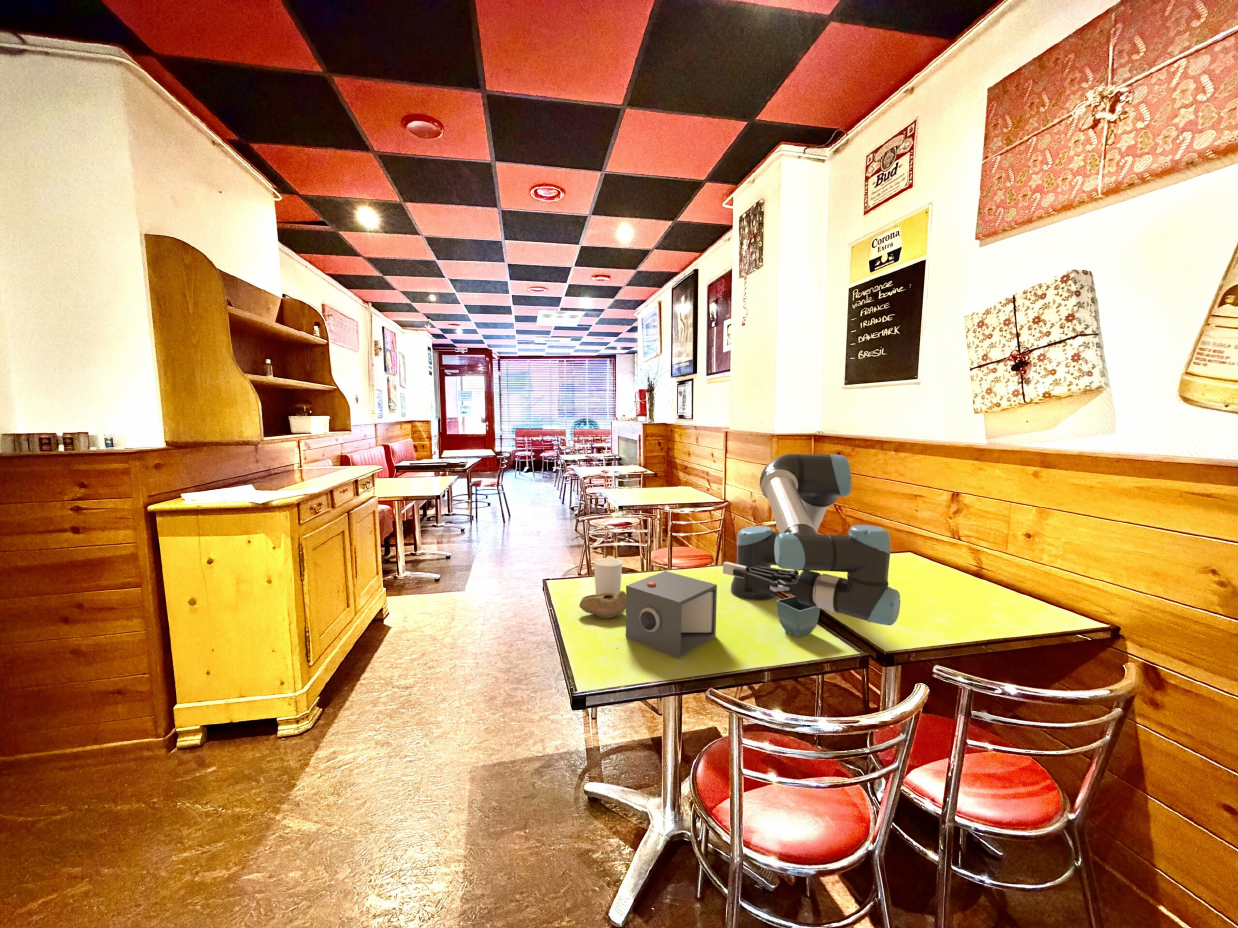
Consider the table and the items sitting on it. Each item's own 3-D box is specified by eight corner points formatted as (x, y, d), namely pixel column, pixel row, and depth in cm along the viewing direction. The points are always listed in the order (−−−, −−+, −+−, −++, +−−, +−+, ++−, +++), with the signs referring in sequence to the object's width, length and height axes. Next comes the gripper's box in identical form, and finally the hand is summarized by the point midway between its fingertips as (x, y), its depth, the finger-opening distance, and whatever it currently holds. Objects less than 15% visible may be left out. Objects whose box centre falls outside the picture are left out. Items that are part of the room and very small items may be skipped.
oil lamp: (577, 610, 154) (577, 586, 154) (623, 607, 157) (623, 583, 157) (582, 624, 144) (582, 598, 143) (631, 620, 147) (631, 595, 146)
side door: (711, 631, 136) (712, 591, 135) (712, 633, 134) (713, 592, 133) (658, 631, 135) (658, 591, 134) (658, 633, 134) (659, 592, 133)
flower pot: (798, 642, 133) (799, 610, 132) (774, 629, 141) (775, 600, 140) (820, 635, 137) (821, 605, 136) (796, 624, 145) (797, 595, 144)
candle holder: (618, 601, 162) (619, 566, 161) (590, 599, 164) (590, 565, 163) (624, 591, 171) (624, 558, 170) (597, 589, 173) (597, 557, 172)
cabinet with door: (664, 618, 148) (665, 568, 147) (715, 636, 136) (716, 582, 135) (621, 639, 134) (622, 584, 132) (674, 661, 122) (675, 601, 120)
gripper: (806, 615, 102) (710, 588, 118) (828, 598, 112) (736, 575, 128) (808, 580, 101) (711, 558, 117) (830, 566, 111) (737, 547, 127)
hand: (724, 567), depth 122 cm, fingers closed
